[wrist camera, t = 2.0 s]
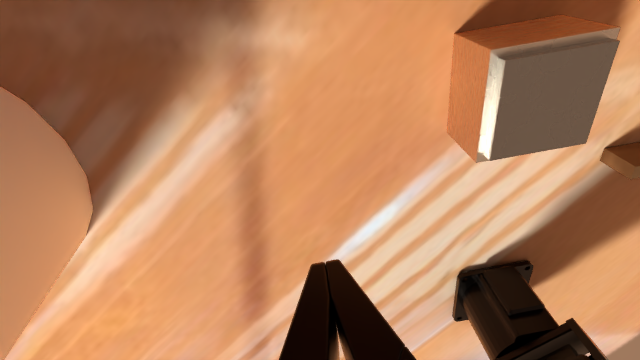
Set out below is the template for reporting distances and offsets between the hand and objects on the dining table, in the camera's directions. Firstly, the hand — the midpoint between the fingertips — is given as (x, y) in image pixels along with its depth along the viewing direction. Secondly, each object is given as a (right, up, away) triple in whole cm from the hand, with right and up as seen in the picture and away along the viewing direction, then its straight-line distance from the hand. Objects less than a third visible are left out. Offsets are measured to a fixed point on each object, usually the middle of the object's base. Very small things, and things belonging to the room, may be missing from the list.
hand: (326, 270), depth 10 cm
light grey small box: (+10, +9, +10) cm, 17 cm away
